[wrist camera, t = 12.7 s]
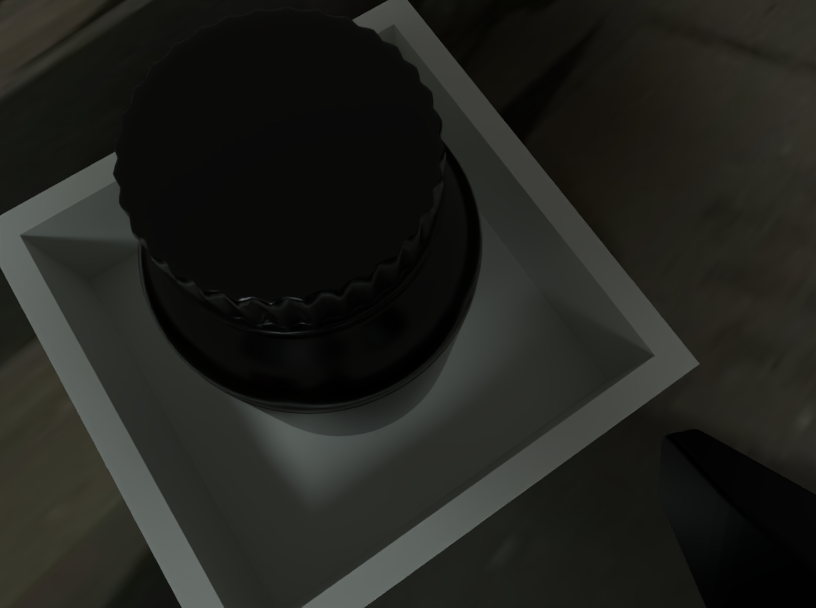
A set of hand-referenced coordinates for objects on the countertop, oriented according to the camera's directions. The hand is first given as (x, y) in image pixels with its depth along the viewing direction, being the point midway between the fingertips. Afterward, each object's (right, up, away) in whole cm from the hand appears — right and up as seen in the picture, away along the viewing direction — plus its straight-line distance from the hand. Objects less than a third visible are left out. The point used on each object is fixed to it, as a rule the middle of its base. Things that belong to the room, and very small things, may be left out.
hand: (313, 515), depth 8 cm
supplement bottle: (-1, +2, +13) cm, 13 cm away
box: (-1, +2, +13) cm, 14 cm away
